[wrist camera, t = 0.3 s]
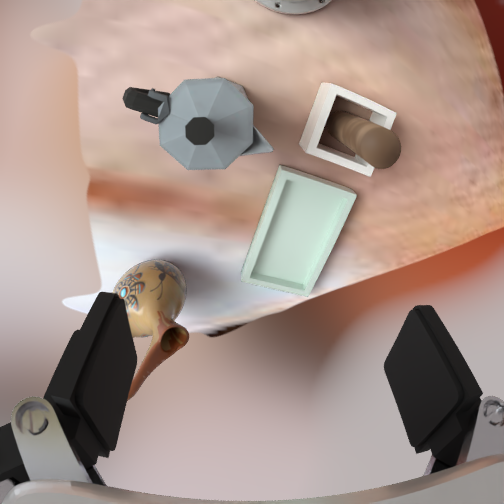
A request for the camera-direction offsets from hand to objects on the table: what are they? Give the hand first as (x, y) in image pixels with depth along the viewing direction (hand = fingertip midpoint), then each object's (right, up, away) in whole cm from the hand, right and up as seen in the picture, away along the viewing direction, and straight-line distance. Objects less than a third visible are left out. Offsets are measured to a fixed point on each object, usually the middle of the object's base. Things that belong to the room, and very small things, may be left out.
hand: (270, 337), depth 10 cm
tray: (+6, +6, +37) cm, 38 cm away
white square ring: (+11, +19, +29) cm, 37 cm away
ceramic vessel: (-16, 0, +41) cm, 44 cm away
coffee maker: (-6, +21, +28) cm, 36 cm away
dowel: (+11, +19, +29) cm, 37 cm away
